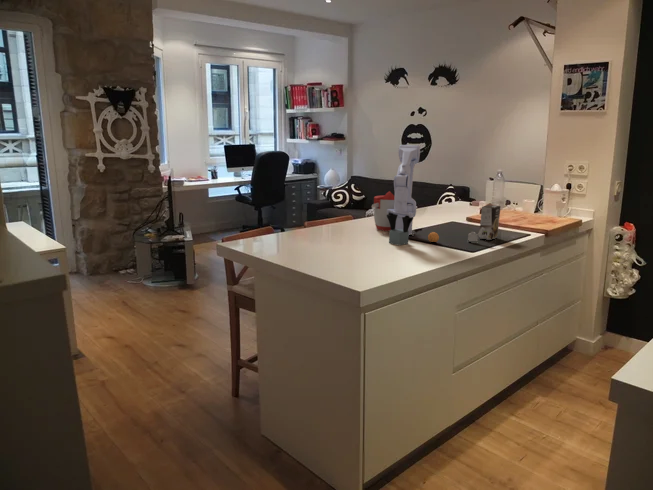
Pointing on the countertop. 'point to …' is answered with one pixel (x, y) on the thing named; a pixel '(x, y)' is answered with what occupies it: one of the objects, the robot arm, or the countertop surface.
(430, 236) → the ball
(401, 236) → the grey-green cube
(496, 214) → the coffee box
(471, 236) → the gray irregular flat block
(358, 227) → the countertop surface
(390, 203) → the citrus juicer
